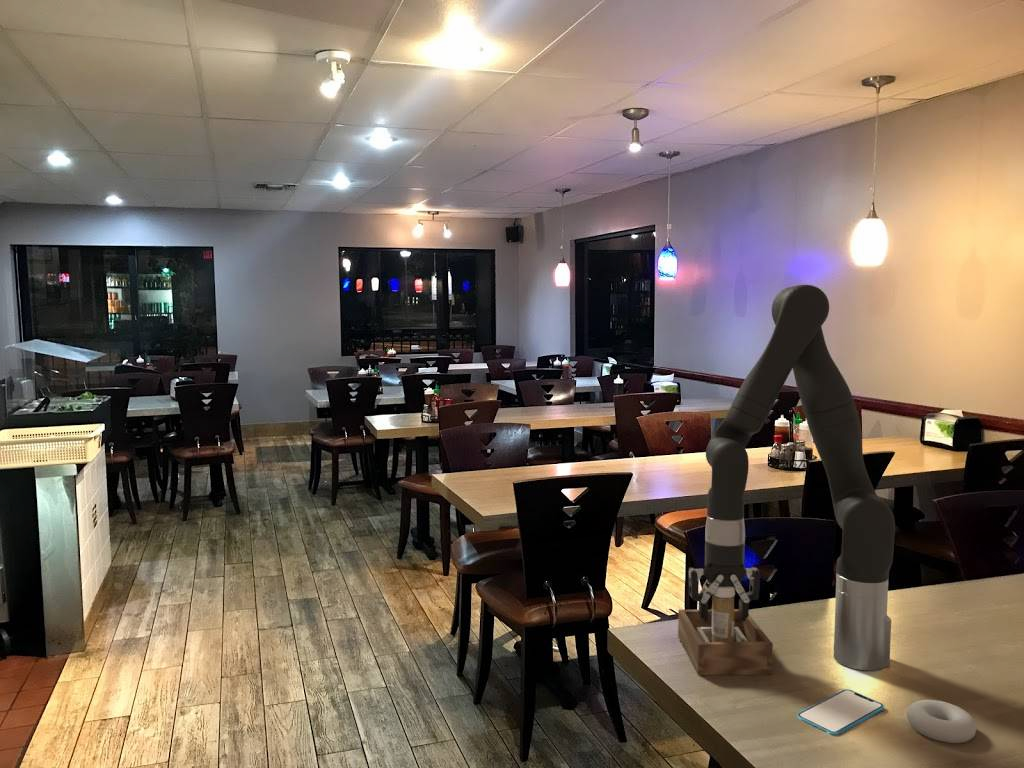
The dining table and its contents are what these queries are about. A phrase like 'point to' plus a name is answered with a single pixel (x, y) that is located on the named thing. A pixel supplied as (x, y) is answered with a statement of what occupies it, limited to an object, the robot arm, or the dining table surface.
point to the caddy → (725, 646)
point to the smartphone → (841, 712)
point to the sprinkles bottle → (723, 614)
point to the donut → (941, 721)
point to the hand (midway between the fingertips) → (723, 619)
